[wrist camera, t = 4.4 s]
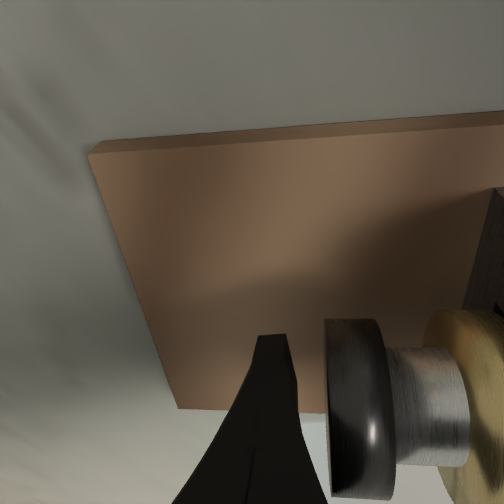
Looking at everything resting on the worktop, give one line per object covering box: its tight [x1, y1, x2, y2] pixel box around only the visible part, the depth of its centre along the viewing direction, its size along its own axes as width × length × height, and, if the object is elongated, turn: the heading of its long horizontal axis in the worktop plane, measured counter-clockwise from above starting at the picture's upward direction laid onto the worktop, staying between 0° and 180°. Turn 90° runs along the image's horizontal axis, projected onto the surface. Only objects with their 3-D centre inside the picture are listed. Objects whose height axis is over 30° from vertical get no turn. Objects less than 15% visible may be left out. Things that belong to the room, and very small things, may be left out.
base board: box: [86, 111, 504, 413], centre depth 12 cm, size 16×11×1 cm, turn 96°
